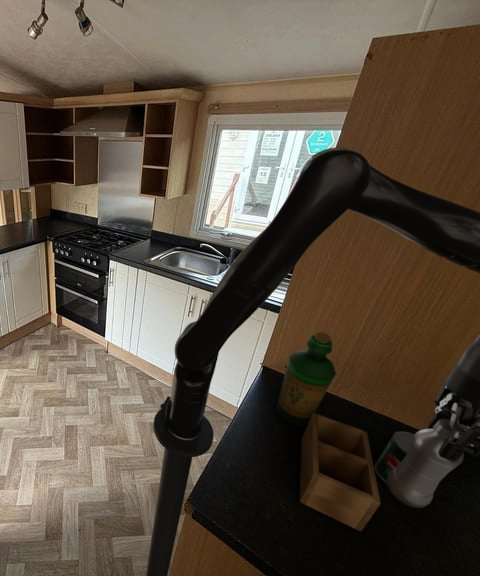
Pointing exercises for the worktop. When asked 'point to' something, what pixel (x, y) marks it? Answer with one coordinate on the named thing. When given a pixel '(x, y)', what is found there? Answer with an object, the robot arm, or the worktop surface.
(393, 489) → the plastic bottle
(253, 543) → the worktop surface
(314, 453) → the bottle rack
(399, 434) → the canned tomato
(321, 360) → the bottle
